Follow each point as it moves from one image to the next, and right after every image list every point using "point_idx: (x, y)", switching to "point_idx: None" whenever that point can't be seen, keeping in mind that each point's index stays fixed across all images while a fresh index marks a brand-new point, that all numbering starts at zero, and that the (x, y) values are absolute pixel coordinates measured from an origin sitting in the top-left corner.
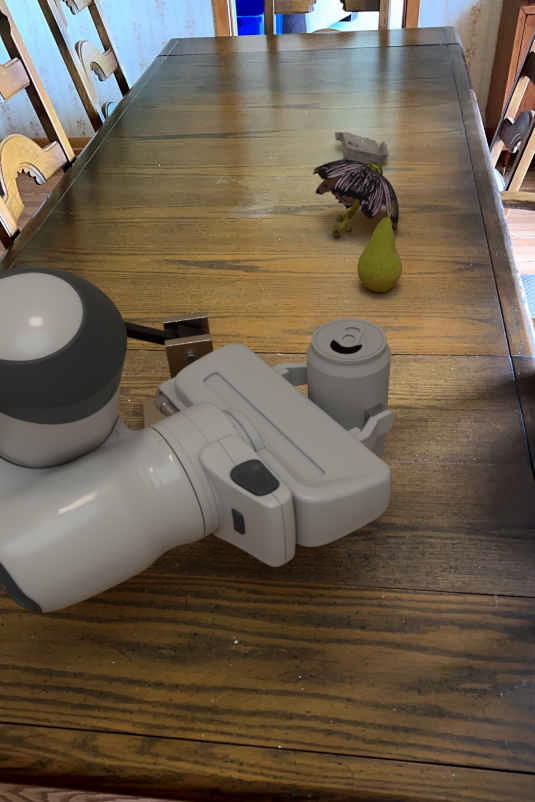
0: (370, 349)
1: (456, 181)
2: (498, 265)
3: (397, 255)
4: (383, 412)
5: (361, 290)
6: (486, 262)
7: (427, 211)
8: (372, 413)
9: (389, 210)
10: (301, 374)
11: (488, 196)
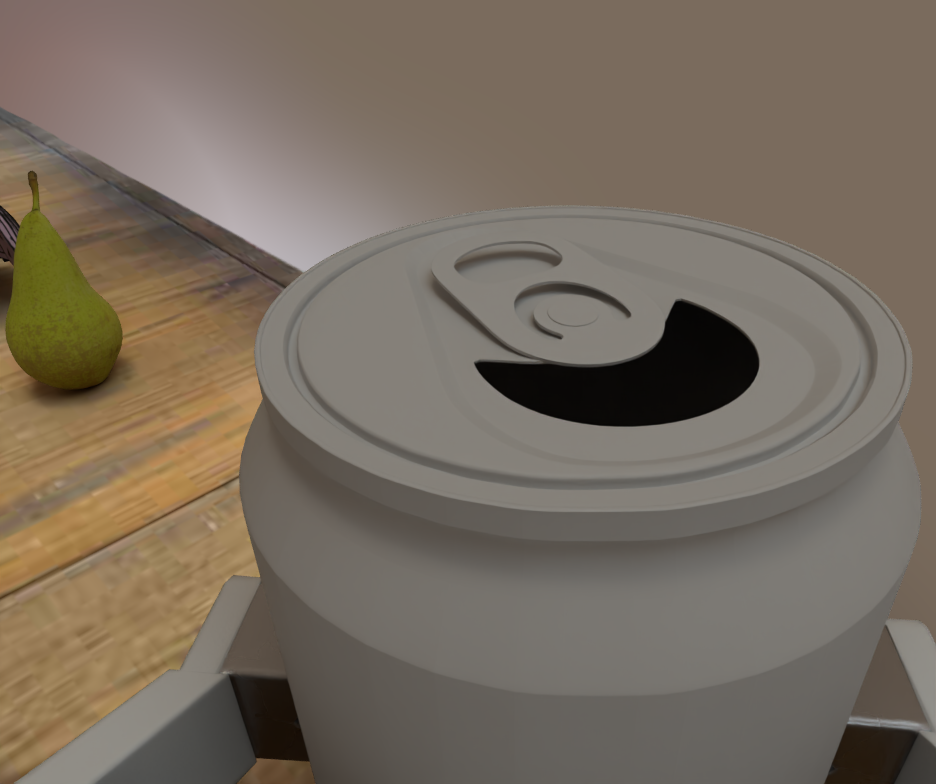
0: (790, 292)
1: (95, 200)
2: (271, 269)
3: (96, 292)
4: (906, 654)
5: (45, 400)
6: (248, 272)
7: (79, 245)
8: (897, 706)
9: (13, 239)
10: (199, 750)
11: (165, 202)
